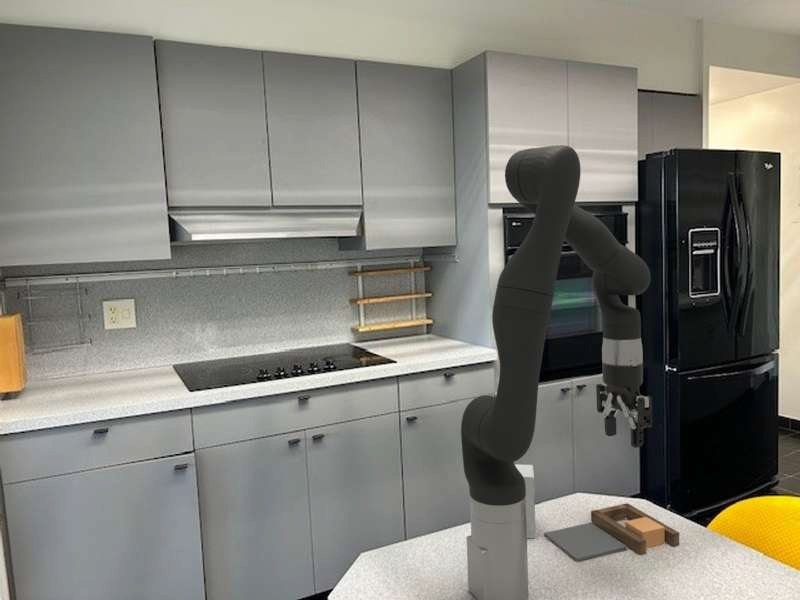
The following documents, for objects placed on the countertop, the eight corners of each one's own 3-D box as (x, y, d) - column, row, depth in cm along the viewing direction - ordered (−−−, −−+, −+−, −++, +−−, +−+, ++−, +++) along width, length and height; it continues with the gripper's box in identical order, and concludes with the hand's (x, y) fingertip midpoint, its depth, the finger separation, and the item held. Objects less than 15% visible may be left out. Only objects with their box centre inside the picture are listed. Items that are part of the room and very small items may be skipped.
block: (643, 550, 115) (643, 532, 115) (625, 538, 120) (625, 521, 119) (664, 545, 117) (664, 527, 116) (646, 533, 121) (646, 516, 121)
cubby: (639, 555, 113) (639, 542, 113) (591, 522, 127) (590, 511, 126) (679, 545, 116) (679, 532, 116) (627, 514, 130) (627, 503, 129)
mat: (576, 561, 111) (576, 558, 111) (543, 535, 122) (543, 532, 122) (626, 549, 115) (626, 546, 115) (590, 525, 125) (590, 522, 125)
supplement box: (535, 539, 121) (534, 477, 120) (498, 537, 122) (496, 476, 121) (535, 522, 128) (533, 464, 127) (499, 520, 129) (497, 463, 128)
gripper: (584, 356, 126) (585, 433, 128) (631, 368, 113) (632, 455, 114) (614, 352, 129) (615, 428, 130) (664, 364, 115) (664, 448, 117)
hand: (623, 440), depth 122 cm, fingers open, 7 cm apart
